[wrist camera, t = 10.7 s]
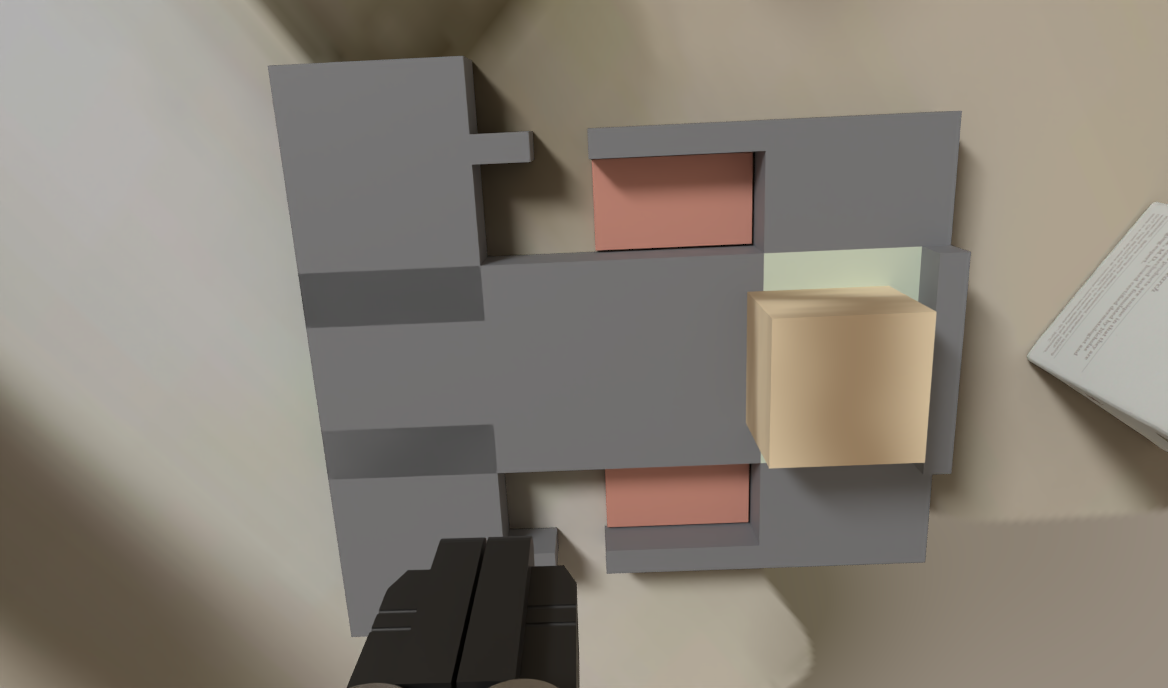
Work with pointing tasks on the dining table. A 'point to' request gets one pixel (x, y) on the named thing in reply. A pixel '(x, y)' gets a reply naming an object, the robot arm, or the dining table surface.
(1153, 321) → the supplement box
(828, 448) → the block
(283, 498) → the dining table surface
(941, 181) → the track
